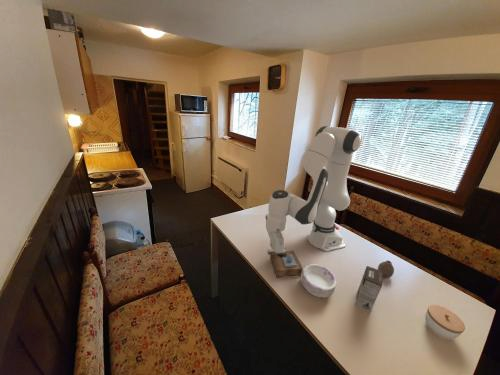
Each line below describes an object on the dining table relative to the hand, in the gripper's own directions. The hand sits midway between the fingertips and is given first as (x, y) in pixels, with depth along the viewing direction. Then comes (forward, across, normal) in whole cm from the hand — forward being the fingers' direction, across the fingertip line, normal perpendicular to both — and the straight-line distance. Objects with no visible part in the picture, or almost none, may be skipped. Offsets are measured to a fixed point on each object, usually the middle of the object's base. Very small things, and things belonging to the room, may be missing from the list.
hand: (272, 247), depth 100 cm
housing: (+14, +1, -9) cm, 17 cm away
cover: (+9, -1, -10) cm, 13 cm away
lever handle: (+9, +5, -4) cm, 11 cm away
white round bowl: (+14, -13, -20) cm, 28 cm away
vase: (+13, -9, -60) cm, 62 cm away
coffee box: (+14, -22, -39) cm, 47 cm away
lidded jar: (+13, -37, -61) cm, 72 cm away
